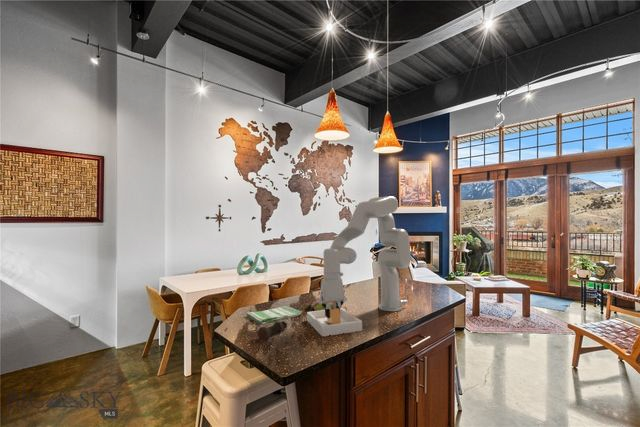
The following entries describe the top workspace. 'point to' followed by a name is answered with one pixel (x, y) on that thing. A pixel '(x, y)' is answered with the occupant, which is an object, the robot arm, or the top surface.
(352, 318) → the tray
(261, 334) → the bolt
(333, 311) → the tan rectangular block
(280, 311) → the dish towel
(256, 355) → the top surface
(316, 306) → the green elongated lump
